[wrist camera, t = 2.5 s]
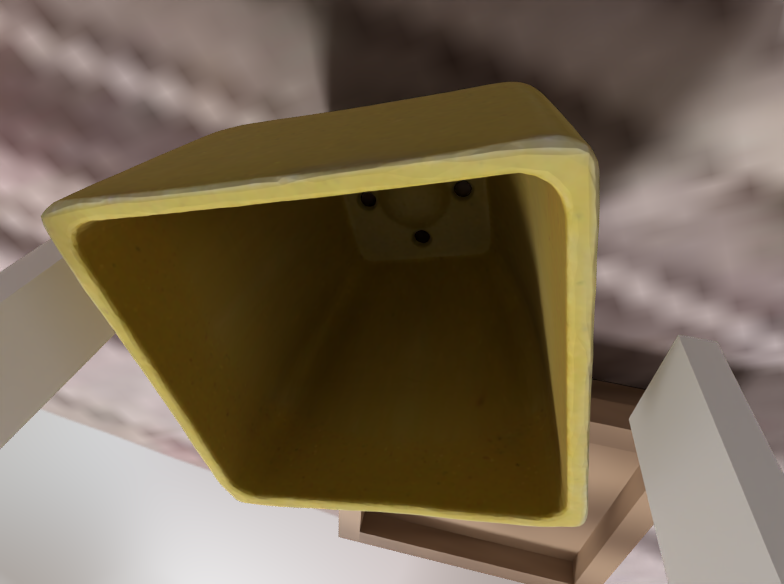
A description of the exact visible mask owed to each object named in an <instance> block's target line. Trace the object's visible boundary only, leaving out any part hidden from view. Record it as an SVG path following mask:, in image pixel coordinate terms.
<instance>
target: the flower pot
mask: <svg viewBox="0 0 784 584" xmlns="http://www.w3.org/2000/svg"><path fill="white" fill-rule="evenodd" d="M460 181H467V182H469V184H470V185H471V187H472V191H471V193H470V194H469V195H468V196H466V197H460V196H458V195H457V194H456V193H455V191H454V186H455V184H456V183H458V182H460ZM364 192H369V193H371V194H373V195H374V196H375V198H376V203H375V205H374V206H372V207H367V206H365V205H364V204H363V203H362V202H361V199H360V197H361V194H362V193H364ZM599 209H600V201H599V165H598V161H597V158H596V156H595V154H594V152H593V150H592V149H591V147H590V146H589V144H588V143H587V142H586V141H585V140H584V139H583V138H582V137H581V136H580V135H579V133H578V132H577V131H576V130H575V129H574V127H573V126H572V125H571V124H570V123H569V122H568V121H567V120H566V118H565V117H564V116H563V115H562V114H561V113H560V112H559V111H558V110H557V108H556V107H555V106H554V105H553V104H552V103H551V102H550V101H549V100H548V99H547V98H546V97H545V96H544V95H543V94H542V93H541V92H540V91H538V90H537V89H535V88H534V87H532V86H531V85H528V84H525V83H521V82H503V83H495V84H489V85H483V86H478V87H473V88H468V89H462V90H457V91H451V92H446V93H440V94H434V95H429V96H423V97H417V98H411V99H405V100H400V101H394V102H388V103H382V104H376V105H370V106H364V107H358V108H352V109H346V110H339V111H332V112H326V113H319V114H313V115H306V116H299V117H292V118H285V119H278V120H271V121H265V122H259V123H252V124H246V125H241V126H237V127H233V128H229V129H225V130H221V131H218V132H215V133H212V134H210V135H207V136H205V137H202V138H200V139H198V140H195V141H193V142H190V143H188V144H186V145H183V146H181V147H179V148H176V149H174V150H172V151H169V152H167V153H165V154H162V155H160V156H157V157H155V158H153V159H151V160H148V161H146V162H144V163H142V164H139V165H137V166H135V167H132V168H130V169H128V170H126V171H123V172H121V173H119V174H116V175H114V176H112V177H109V178H107V179H105V180H102V181H100V182H97V183H95V184H93V185H91V186H88V187H86V188H84V189H82V190H80V191H77V192H75V193H73V194H71V195H69V196H67V197H64V198H62V199H60V200H58V201H56V202H54V203H53V204H51V205H50V206H49V207H48V208H47V209H46V210H45V211H44V212H43V214H42V215H41V218H42V221H43V225H44V227H45V229H46V231H47V232H48V234H49V236H50V237H51V239H52V241H53V242H54V244H55V246H56V247H57V249H58V251H59V252H60V254H61V255H62V257H63V258H64V260H65V261H66V263H67V264H68V266H69V267H70V269H71V270H72V272H73V273H74V275H75V276H76V278H77V280H78V281H79V283H80V284H81V286H82V287H83V289H84V290H85V292H86V293H87V294H88V296H89V297H90V298H91V300H92V301H93V303H94V304H95V305H96V306H97V308H98V309H99V310H100V312H101V313H102V315H103V316H104V317H105V319H106V320H107V322H108V323H109V325H110V326H111V327H112V328H113V329H114V331H115V332H116V334H117V335H118V337H119V338H120V340H121V341H122V343H123V344H124V345H125V347H126V348H127V350H128V351H129V353H130V354H131V356H132V357H133V359H134V360H135V361H136V363H137V364H138V365H139V366H140V368H141V369H142V371H143V372H144V374H145V375H146V377H147V378H148V379H149V381H150V382H151V384H152V385H153V387H154V388H155V389H156V391H157V392H158V394H159V395H160V397H161V398H162V399H163V401H164V402H165V404H166V405H167V407H168V408H169V410H170V411H171V413H172V414H173V416H174V417H175V418H176V420H177V421H178V423H179V424H180V425H181V427H182V429H183V430H184V432H185V433H186V435H187V436H188V438H189V440H190V441H191V443H192V444H193V446H194V447H195V448H196V450H197V451H198V453H199V454H200V456H201V457H202V459H203V460H204V462H205V463H206V464H207V466H208V467H209V469H210V470H211V471H212V473H213V474H214V476H215V477H216V479H217V480H218V481H219V483H220V484H221V485H222V486H223V487H224V488H225V489H226V490H227V491H228V492H229V493H230V494H231V495H232V496H233V497H234V498H235V499H236V500H238V501H241V502H244V503H251V504H259V505H268V506H279V507H294V508H295V507H296V508H318V509H331V510H347V511H376V512H388V513H400V514H412V515H423V516H431V517H440V518H449V519H457V520H466V521H476V522H490V523H502V524H512V525H522V526H536V527H577V526H581V525H583V524H584V523H585V521H586V519H587V515H588V474H589V432H590V406H591V385H592V364H593V330H594V308H595V295H596V272H597V246H598V232H599ZM419 230H425V231H426V232H428V233H429V235H430V239H429V241H428V242H426V243H420V242H418V241H417V240H416V239H415V237H414V235H415V232H417V231H419Z"/></svg>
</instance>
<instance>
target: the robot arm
mask: <svg viewBox="0 0 784 584" xmlns="http://www.w3.org/2000/svg"><path fill="white" fill-rule="evenodd" d="M115 333H116V332H115V331H114V329H113V328H112V327H111V326H110V325H109V323H108V322H107V320H106V319H105V317H104V316H103V315H102V313H101V312H100V310H99V309H98V308H97V306H96V305H95V304H94V303H93V301H92V300H91V298H90V297H89V296H88V294H87V293H86V292H85V290H84V289H83V287H82V286H81V284H80V283H79V281H78V280H77V278H76V276H75V275H74V273H73V272H72V270H71V269H70V267H69V266H68V264H67V263H66V261H65V260H64V258H63V257H62V255H61V254H60V252H59V251H58V249H57V247H56V246H55V244H54V242H53V241H52V239H50V240H48V241H46V242H45V243H43V244H42V245H40V246H39V247H37V248H36V249H34V250H33V251H31V252H30V253H28V254H27V255H25V256H24V257H22V258H21V259H19V260H18V261H16V262H15V263H13V264H12V265H10V266H9V267H7V268H6V269H4V270H3V271H1V272H0V449H1V448H2V447H3V446H4V445H5V444H6V443H7V442H8V441H9V439H11V438H12V437H13V436H14V435H15V434H16V432H18V431H19V429H21V428H22V427H23V426H24V425H25V424H26V423H27V422H28V421H29V420H30V419H31V418H32V417H33V416H34V415H35V414H36V413H37V412H38V411H39V410H40V409H41V408H42V407H43V406H44V405H45V404H46V403H47V402H48V401H49V400H50V399H51V398H52V397H53V396H54V395H55V393H56V392H57V391H58V390H59V389H60V388H61V387H62V386H63V385H64V384H65V383H66V382H67V381H68V380H69V379H70V378H71V377H72V376H73V375H74V374H75V373H76V372H77V371H78V370H79V369H80V368H81V367H82V366H83V365H84V364H85V363H86V362H87V361H88V360H89V359H90V358H91V357H92V356H93V355H94V354H95V353H96V352H97V351H98V350H99V349H100V348H101V347H102V346H103V345H104V344H105V343H106V342H107V341H108V340H109V339H110V338H111V337H112V336H113V335H114V334H115ZM629 422H630V426H631V431H632V435H633V439H634V443H635V447H636V452H637V456H638V460H639V464H640V468H641V472H642V477H643V481H644V485H645V489H646V493H647V497H648V502H649V506H650V510H651V514H652V518H653V522H654V527H655V531H656V535H657V539H658V543H659V547H660V552H661V556H662V560H663V564H664V568H665V572H666V577H667V581H668V584H784V474H783V472H782V470H781V468H780V466H779V464H778V462H777V460H776V458H775V456H774V454H773V452H772V450H771V448H770V446H769V444H768V442H767V440H766V438H765V436H764V434H763V432H762V430H761V428H760V426H759V424H758V422H757V420H756V418H755V416H754V414H753V412H752V410H751V408H750V406H749V404H748V402H747V400H746V398H745V396H744V394H743V392H742V390H741V388H740V386H739V384H738V382H737V380H736V378H735V376H734V374H733V372H732V370H731V368H730V366H729V364H728V362H727V360H726V358H725V356H724V354H723V352H722V350H721V348H720V346H719V344H718V342H716V341H710V340H705V339H699V338H694V337H688V336H683V335H678V336H677V338H676V339H675V341H674V343H673V345H672V346H671V348H670V350H669V351H668V353H667V355H666V356H665V358H664V360H663V362H662V363H661V365H660V367H659V368H658V370H657V372H656V373H655V375H654V377H653V379H652V380H651V382H650V384H649V385H648V387H647V389H646V390H645V392H644V394H643V395H642V397H641V399H640V401H639V402H638V404H637V406H636V407H635V409H634V411H633V412H632V414H631V416H630V418H629Z"/></svg>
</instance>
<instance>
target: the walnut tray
mask: <svg viewBox="0 0 784 584" xmlns="http://www.w3.org/2000/svg"><path fill="white" fill-rule="evenodd" d="M644 392H645V390H644V389H639V388H634V387H629V386H624V385H618V384H613V383H608V382H603V381H598V380H593V379H592V385H591V406H590V432H589V474H588V515H587V519H586V521H585V523H584V524H583V525H581V526H577V527H536V526H522V525H512V524H502V523H490V522H476V521H466V520H457V519H449V518H440V517H431V516H423V515H412V514H400V513H388V512H376V511H347V510H339V537H341V538H345V539H349V540H353V541H357V542H361V543H365V544H369V545H373V546H377V547H381V548H385V549H389V550H393V551H397V552H401V553H405V554H409V555H413V556H417V557H421V558H425V559H429V560H433V561H437V562H441V563H445V564H449V565H453V566H457V567H461V568H465V569H469V570H473V571H477V572H481V573H485V574H489V575H493V576H497V577H501V578H505V579H509V580H513V581H517V582H521V583H525V584H604V583H605V581H606V580H607V579H608V578H609V577H610V575H611V574H612V573H613V572H614V571H615V570H616V568H617V567H618V566H619V565H620V564H621V562H622V561H623V560H624V559H625V558H626V557H627V555H628V554H629V553H630V552H631V551H632V549H633V548H634V547H635V546H636V545H637V543H638V542H639V541H640V540H641V539H642V538H643V536H644V535H645V534H646V533H647V532H648V530H649V529H650V528H651V527H652V526H653V525H654V522H653V518H652V514H651V510H650V506H649V502H648V497H647V493H646V489H645V485H644V481H643V477H642V472H641V468H640V464H639V460H638V456H637V452H636V447H635V443H634V439H633V435H632V431H631V426H630V422H629V418H630V416H631V414H632V412H633V411H634V409H635V407H636V406H637V404H638V402H639V401H640V399H641V397H642V395H643V394H644Z"/></svg>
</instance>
